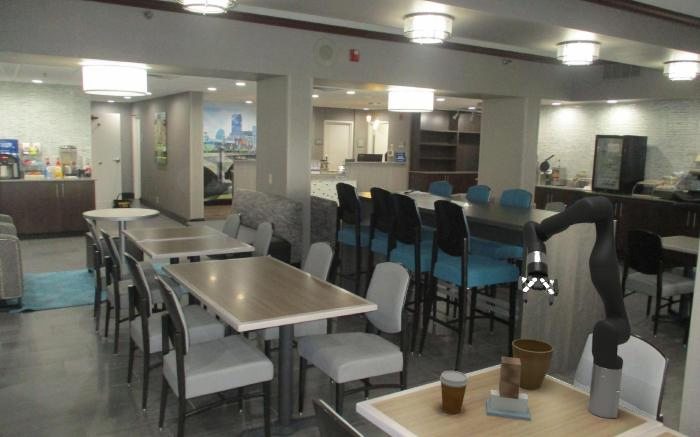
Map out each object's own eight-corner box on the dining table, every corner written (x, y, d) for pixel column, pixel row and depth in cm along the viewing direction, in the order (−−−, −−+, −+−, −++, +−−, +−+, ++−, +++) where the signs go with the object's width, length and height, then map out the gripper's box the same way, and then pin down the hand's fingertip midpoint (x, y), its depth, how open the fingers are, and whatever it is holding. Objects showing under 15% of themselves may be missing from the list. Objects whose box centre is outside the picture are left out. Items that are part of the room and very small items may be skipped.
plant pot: (556, 386, 211) (560, 346, 209) (537, 397, 201) (541, 355, 199) (521, 373, 222) (524, 335, 219) (501, 383, 211) (504, 343, 209)
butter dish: (527, 407, 193) (528, 390, 192) (530, 420, 183) (532, 403, 182) (486, 401, 196) (487, 385, 195) (487, 414, 186) (488, 398, 185)
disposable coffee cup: (467, 405, 192) (470, 373, 190) (464, 418, 183) (466, 383, 181) (440, 400, 195) (442, 368, 193) (435, 412, 186) (437, 378, 184)
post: (516, 391, 191) (519, 358, 189) (518, 399, 185) (521, 365, 184) (498, 389, 192) (501, 356, 191) (499, 396, 186) (502, 362, 185)
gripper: (519, 259, 209) (519, 296, 200) (558, 262, 207) (560, 300, 197) (516, 269, 215) (516, 306, 206) (555, 273, 212) (557, 310, 203)
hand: (538, 303), depth 201 cm, fingers open, 8 cm apart
